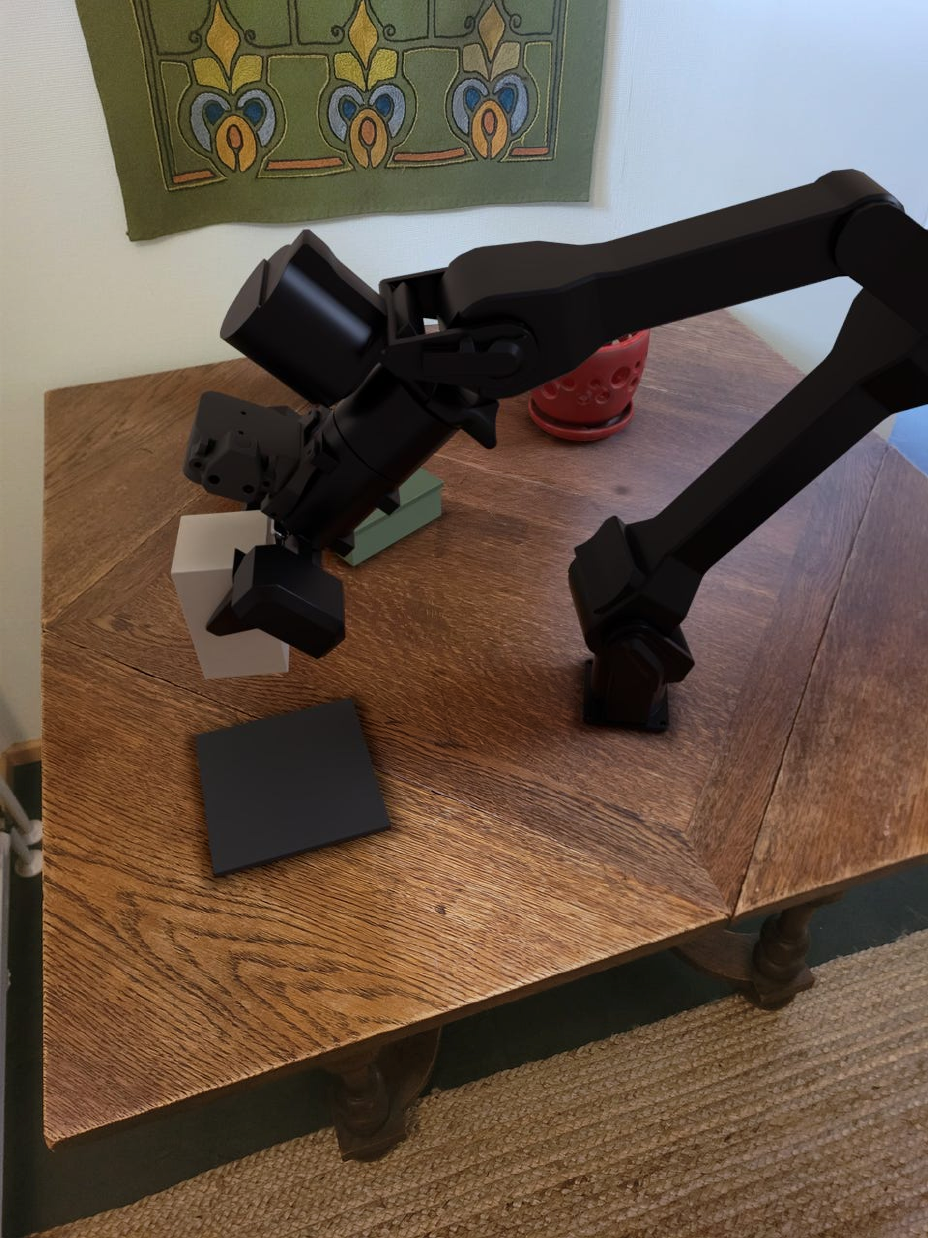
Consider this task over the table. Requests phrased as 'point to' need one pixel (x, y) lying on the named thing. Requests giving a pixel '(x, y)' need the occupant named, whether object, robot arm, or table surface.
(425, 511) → the storage box
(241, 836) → the mat
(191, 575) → the white box
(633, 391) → the flower pot
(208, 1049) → the table surface
